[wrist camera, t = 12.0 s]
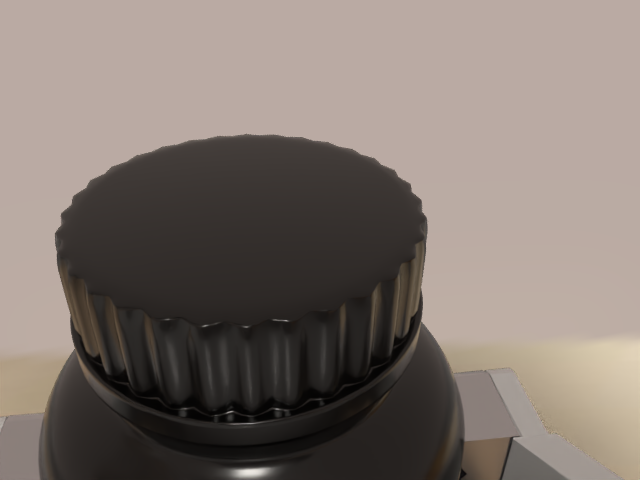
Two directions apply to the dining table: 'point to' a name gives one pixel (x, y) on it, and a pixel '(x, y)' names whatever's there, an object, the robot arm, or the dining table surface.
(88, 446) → the supplement bottle
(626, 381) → the dining table surface
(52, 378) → the dining table surface
